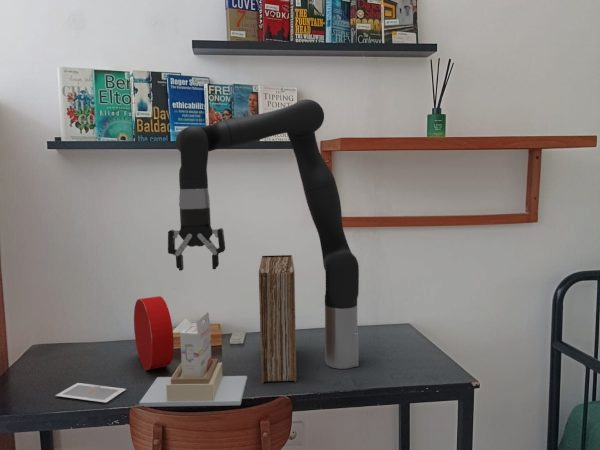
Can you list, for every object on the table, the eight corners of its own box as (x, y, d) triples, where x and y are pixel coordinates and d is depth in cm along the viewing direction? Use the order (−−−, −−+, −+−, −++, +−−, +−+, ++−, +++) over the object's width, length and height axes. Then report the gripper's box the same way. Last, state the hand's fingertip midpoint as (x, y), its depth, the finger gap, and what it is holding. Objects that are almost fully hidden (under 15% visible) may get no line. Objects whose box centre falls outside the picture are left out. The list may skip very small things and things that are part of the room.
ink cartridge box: (194, 366, 129) (191, 310, 127) (212, 366, 128) (210, 311, 126) (181, 379, 120) (178, 320, 119) (200, 380, 119) (198, 321, 118)
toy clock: (175, 375, 135) (172, 303, 133) (153, 380, 132) (150, 307, 130) (155, 353, 152) (152, 290, 150) (135, 357, 149) (132, 292, 147)
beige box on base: (247, 379, 132) (246, 356, 131) (240, 405, 117) (239, 380, 116) (157, 380, 132) (156, 358, 131) (139, 406, 117) (138, 381, 116)
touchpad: (106, 406, 118) (106, 398, 118) (55, 399, 123) (54, 391, 122) (126, 393, 126) (126, 384, 126) (77, 386, 130) (77, 378, 130)
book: (296, 383, 129) (294, 270, 126) (261, 384, 128) (258, 271, 126) (293, 349, 154) (292, 254, 151) (264, 350, 154) (261, 255, 151)
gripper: (224, 205, 129) (227, 266, 131) (170, 206, 129) (173, 267, 131) (220, 206, 122) (223, 271, 123) (162, 208, 122) (166, 273, 123)
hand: (197, 269), depth 127 cm, fingers open, 8 cm apart
